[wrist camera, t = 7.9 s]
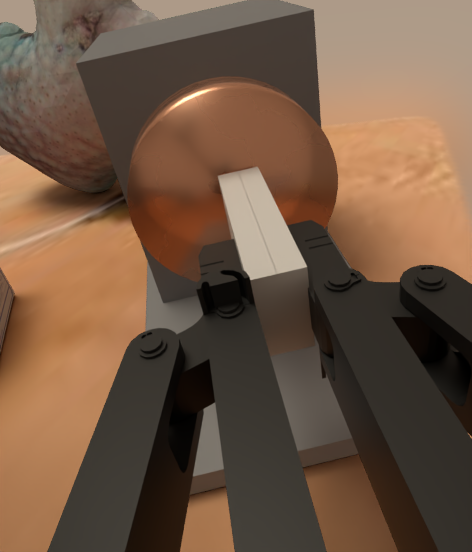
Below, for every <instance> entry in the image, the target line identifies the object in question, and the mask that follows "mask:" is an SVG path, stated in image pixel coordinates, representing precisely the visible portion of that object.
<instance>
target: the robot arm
mask: <svg viewBox="0 0 472 552" xmlns="http://www.w3.org/2000/svg"><path fill="white" fill-rule="evenodd" d="M218 180H219V184H220V189H221V193H222V198H223V203H224V207H225V212H226V216H227V221H228V226H229V230H230V235H231V240H226V241H222V242H218V243H213V244H209V245H205V246H203V248H202V250H201V252H200V254H199V256H198V258H199V265H200V273H201V279H200V280H199V281H198V283H197V287H196V291H197V294H198V298H199V301H200V305H201V308H202V311H203V315H202V317H201V318H200V319H199V321H198V322H196V323H195V324H194V325H193V326H191V327H190V328H188V329H186V330H184V331H182V332H180V333H178V334H176V333H175V332H174V331H172V330H170V329H167V328H156V329H151V330H148V331H145V332H143V333H141V334H139V335H138V336H137V337H136V338H134V339H133V340H132V341H131V342H130V344H129V346H128V347H127V349H126V351H125V354H124V356H123V359H122V362H121V364H120V367H119V369H118V372H117V374H116V377H115V380H114V382H113V385H112V387H111V390H110V392H109V395H108V398H107V400H106V403H105V405H104V408H103V410H102V413H101V415H100V418H99V421H98V423H97V426H96V428H95V431H94V433H93V436H92V439H91V441H90V444H89V446H88V449H87V451H86V454H85V457H84V459H83V462H82V464H81V467H80V469H79V472H78V475H77V477H76V480H75V482H74V485H73V487H72V490H71V492H70V495H69V498H68V500H67V503H66V505H65V508H64V510H63V513H62V516H61V518H60V521H59V523H58V526H57V528H56V531H55V534H54V536H53V539H52V541H51V544H50V546H49V549H48V551H47V552H180V547H181V541H182V536H183V530H184V524H185V518H186V513H187V507H188V501H189V495H190V490H191V484H192V478H193V473H194V467H195V461H196V455H197V450H198V444H199V438H200V432H201V427H202V421H203V415H204V408H206V407H208V406H210V405H212V404H213V403H215V405H216V413H217V420H218V428H219V435H220V443H221V451H222V458H223V466H224V473H225V481H226V489H227V496H228V504H229V511H230V519H231V526H232V534H233V542H234V549H235V552H327V551H326V548H325V544H324V541H323V537H322V534H321V530H320V527H319V523H318V520H317V516H316V513H315V509H314V506H313V503H312V499H311V496H310V492H309V489H308V485H307V482H306V478H305V475H304V471H303V468H302V464H301V461H300V458H299V454H298V451H297V447H296V444H295V440H294V437H293V433H292V430H291V426H290V423H289V419H288V416H287V413H286V409H285V406H284V402H283V399H282V395H281V392H280V388H279V385H278V381H277V378H276V374H275V371H274V368H273V364H272V361H271V357H270V356H273V355H277V354H282V353H286V352H290V351H294V350H299V349H303V348H307V347H311V346H315V339H314V335H315V337H316V340H317V342H318V344H319V351H320V362H321V373H322V379H323V378H326V375H327V377H328V379H329V382H330V384H331V387H332V389H333V392H334V394H335V397H336V399H337V402H338V404H339V406H340V409H341V411H342V414H343V416H344V419H345V421H346V424H347V426H348V429H349V431H350V434H351V436H352V438H353V441H354V443H355V446H356V448H357V451H358V453H359V456H360V458H361V461H362V463H363V465H364V468H365V470H366V473H367V475H368V478H369V480H370V483H371V485H372V488H373V490H374V493H375V495H376V497H377V500H378V502H379V505H380V507H381V510H382V512H383V515H384V517H385V520H386V522H387V524H388V527H389V529H390V532H391V534H392V537H393V539H394V542H395V544H396V547H397V549H398V552H472V439H471V437H470V436H469V434H470V435H471V436H472V284H470V283H469V282H467V281H466V280H464V279H463V278H461V277H460V276H458V275H457V274H455V273H454V272H452V271H450V270H448V269H446V268H443V267H439V266H434V265H419V266H416V267H412V268H410V269H408V270H407V271H405V272H404V273H403V274H402V276H401V278H400V282H372V281H367V279H366V278H365V277H364V276H363V275H362V274H361V273H360V272H359V271H356V270H354V269H351V268H349V267H348V265H347V264H346V262H345V261H344V259H343V258H342V256H341V254H340V253H339V251H338V250H337V248H336V246H335V245H334V244H333V242H332V240H331V238H330V237H329V236H328V234H327V232H326V231H325V229H324V227H323V226H322V225H320V224H318V223H316V222H315V221H313V220H308V221H304V222H299V223H295V224H291V225H286V223H285V221H284V219H283V217H282V215H281V213H280V211H279V209H278V207H277V205H276V203H275V201H274V199H273V197H272V195H271V192H270V190H269V188H268V186H267V184H266V182H265V180H264V178H263V176H262V174H261V172H260V170H259V168H258V167H254V168H249V169H245V170H241V171H236V172H232V173H227V174H223V175H219V176H218ZM467 432H468V433H469V434H468V433H467Z"/></svg>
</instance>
